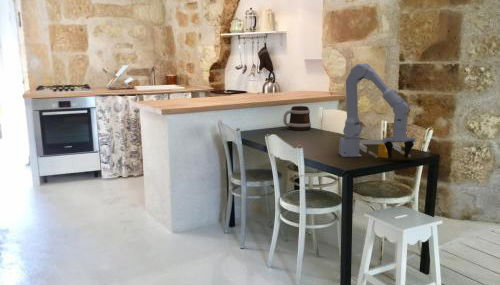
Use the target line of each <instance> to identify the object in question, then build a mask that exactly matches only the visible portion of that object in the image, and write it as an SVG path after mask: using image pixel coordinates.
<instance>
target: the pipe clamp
mask: <svg viewBox="0 0 500 285" xmlns="http://www.w3.org/2000/svg"><path fill="white" fill-rule="evenodd" d="M391 143H392V144H393V143H394V142H391ZM377 145H378V148H377V155H378V158H383V159H388V158H389V157H388V152H387V149H386V146H385V144H377Z"/></svg>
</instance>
